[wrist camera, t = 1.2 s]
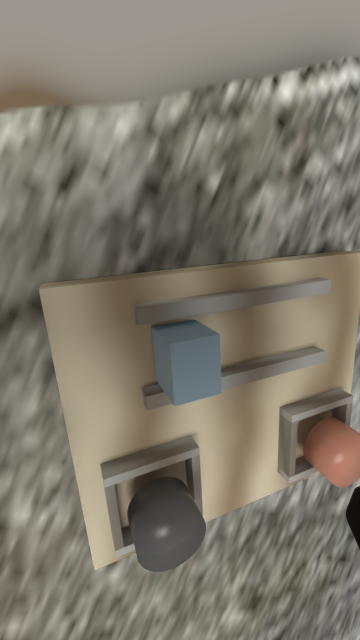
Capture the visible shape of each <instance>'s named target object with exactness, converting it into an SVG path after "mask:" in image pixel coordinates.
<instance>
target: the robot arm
mask: <svg viewBox="0 0 360 640" xmlns="http://www.w3.org/2000/svg"><path fill="white" fill-rule="evenodd" d="M346 518H347V521H348V524H349V526H350V528H351V531H352V533H353V535H354V537H355V540H356V542H357V544H358V546H359V549H360V486H359V487H357V488H355V490H354V492H353V494H352V497H351V499H350V502H349V504H348V506H347V509H346Z"/></svg>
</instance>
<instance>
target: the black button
mask: <svg viewBox="0 0 360 640" xmlns="http://www.w3.org/2000/svg"><path fill="white" fill-rule="evenodd" d="M127 518H128V522H129V526H130V530H131V534H132V538H133V542H134V546H135V550H136V554H137V558H138V561H139V563H140V564H141V566H142V567H143V568H145V569H147V570H149V571H154V572H161V571H167V570H170V569H172V568H175V567H177V566H179V565H180V564H182V563H184V562H185V561H186V560H188V559H189V558H190V557H191V556H192V555H193V554H194V553H195V552H196V550H197V549H198V548H199V546H200V545H201V543H202V541H203V539H204V536H205V531H206V524H205V520H204V518H203V516H202V514H201V512H200V510H199V509H198V507H197V505H196V503H195V501H194V499H193V497H192V495H191V493H190V491H189V489H188V488H187V486H186V484H185V483H184V482H183V481H182V480H180V479H178V478H175V477H161V478H158V479H155V480H153V481H151V482H149V483H147V484H146V485H144V486H143V487H142V488H141V489H140V490H139V491H138V492H137V493H136V494H135V495H134V497H133V498H132V500H131V502H130V504H129V506H128V511H127Z"/></svg>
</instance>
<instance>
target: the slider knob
mask: <svg viewBox="0 0 360 640" xmlns="http://www.w3.org/2000/svg"><path fill="white" fill-rule="evenodd" d="M151 331H152V341H153V352H154V362H155V373H156V381H157V382H158V384H159V385H160V386H161V388H162V389H163V391H164V392H165V393H166V395H167V396H168V398H169V399H170V401H171V402H172V403H173V405H174V406H178V405H182V404H185V403H189V402H193V401H196V400H200V399H203V398H207V397H211V396H214V395H218V394H221V393H222V390H221V355H220V334H219V333H217V332H215V331H214V330H212V329H210V328H208V327H207V326H205V325H203V324H201V323H200V322H198V321H196V320H188V321H183V322H177V323H171V324H166V325H160V326H154V327H151Z"/></svg>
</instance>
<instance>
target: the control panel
mask: <svg viewBox="0 0 360 640" xmlns="http://www.w3.org/2000/svg"><path fill="white" fill-rule="evenodd" d="M39 293H40V298H41V303H42V308H43V313H44V318H45V323H46V328H47V333H48V338H49V343H50V348H51V353H52V358H53V363H54V368H55V373H56V378H57V383H58V388H59V393H60V398H61V403H62V408H63V414H64V419H65V424H66V429H67V434H68V439H69V444H70V449H71V454H72V459H73V464H74V469H75V474H76V479H77V484H78V489H79V494H80V499H81V504H82V509H83V514H84V519H85V524H86V529H87V534H88V539H89V544H90V549H91V554H92V559H93V564H94V569H95V570H97V569H99V568H101V567H103V566H106V565H108V564H110V563H113V562H115V561H117V560H120V559H122V558H124V557H127V556H129V555H131V554H133V553H136V550H135V546H134V542H133V538H132V534H131V530H130V526H129V522H128V518H127V511H128V506H129V504H130V502H131V500H132V498H133V497H134V495H135V494H136V493H137V492H138V491H139V490H140V489H141V488H142V487H143V486H144V485H146V484H147V483H149V482H151V481H153V480H155V479H158V478H161V477H175V478H178V479H180V480H182V481H183V482H184V483H185V484H186V486H187V488H188V489H189V491H190V493H191V495H192V497H193V499H194V501H195V503H196V505H197V507H198V509H199V510H200V512H201V514H202V516H203V518H204V520H205V522H207V521H209V520H212V519H214V518H216V517H219V516H221V515H223V514H226V513H228V512H230V511H232V510H235V509H237V508H239V507H242V506H244V505H246V504H249V503H251V502H253V501H256V500H258V499H260V498H262V497H265V496H267V495H269V494H272V493H274V492H276V491H279V490H281V489H283V488H285V487H288V486H290V485H292V484H295V483H297V482H299V481H302V480H304V479H306V478H309V477H311V476H313V475H315V474H318V473H320V472H319V471H318V470H317V469H316V468H314V467H313V466H312V465H311V464H310V463H309V462H308V461H306V459H305V457H304V454H303V446H304V442H305V439H306V437H307V435H308V433H309V432H310V430H311V429H312V428H313V427H314V426H315V425H316V424H317V423H318V422H320V421H321V420H323V419H326V418H330V417H331V418H336V419H338V420H340V421H341V422H343V423H344V424H346V425H347V426H349V427H350V420H351V411H352V402H353V395H351V385H352V376H353V366H354V357H355V348H356V338H357V329H358V320H359V310H360V251H335V252H325V253H316V254H307V255H298V256H289V257H280V258H271V259H261V260H252V261H243V262H234V263H225V264H216V265H207V266H198V267H188V268H179V269H170V270H161V271H152V272H143V273H134V274H124V275H115V276H106V277H97V278H88V279H79V280H70V281H60V282H51V283H42V284H41V285H40V288H39ZM188 320H196V321H198V322H200V323H201V324H203V325H205V326H207V327H208V328H210V329H212V330H214V331H215V332H217V333H219V334H220V355H221V390H222V393H221V394H218V395H214V396H211V397H207V398H203V399H200V400H196V401H193V402H189V403H185V404H182V405H178V406H174V405H173V403H172V402H171V401H170V399H169V398H168V396H167V395H166V393H165V392H164V391H163V389H162V388H161V386H160V385H159V384H158V382H157V381H156V373H155V362H154V352H153V341H152V331H151V327H154V326H160V325H166V324H171V323H177V322H183V321H188Z"/></svg>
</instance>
